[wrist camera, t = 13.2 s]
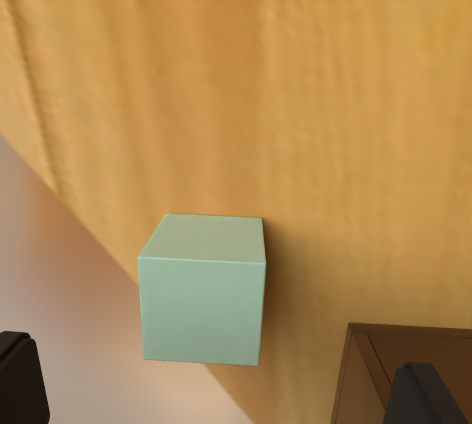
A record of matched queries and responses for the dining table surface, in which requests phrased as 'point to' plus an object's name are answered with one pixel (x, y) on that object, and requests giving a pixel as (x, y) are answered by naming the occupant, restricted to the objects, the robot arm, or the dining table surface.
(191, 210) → the dining table surface
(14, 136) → the dining table surface
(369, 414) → the box
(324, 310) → the dining table surface
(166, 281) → the block
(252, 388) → the dining table surface
